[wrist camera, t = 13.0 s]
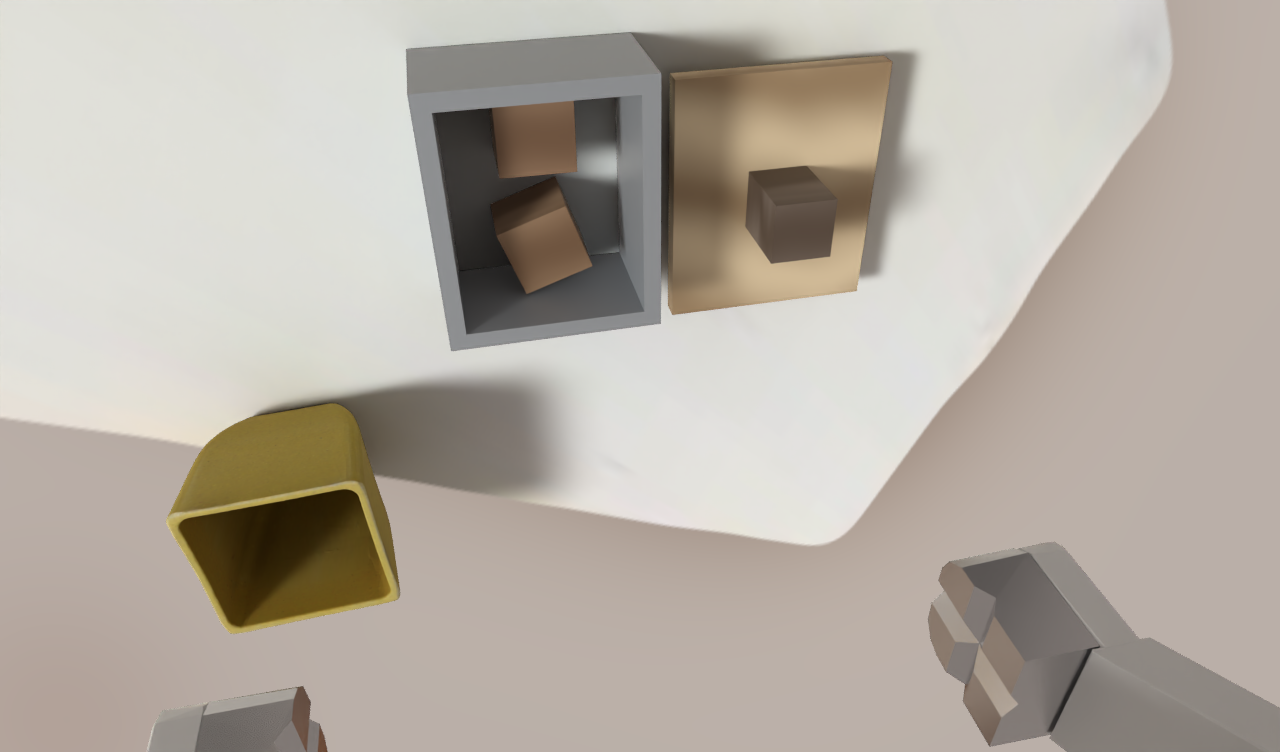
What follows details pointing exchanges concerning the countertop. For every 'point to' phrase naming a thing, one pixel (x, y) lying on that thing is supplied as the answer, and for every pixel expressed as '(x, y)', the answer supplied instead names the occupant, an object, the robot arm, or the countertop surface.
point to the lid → (771, 180)
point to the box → (630, 279)
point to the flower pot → (286, 520)
